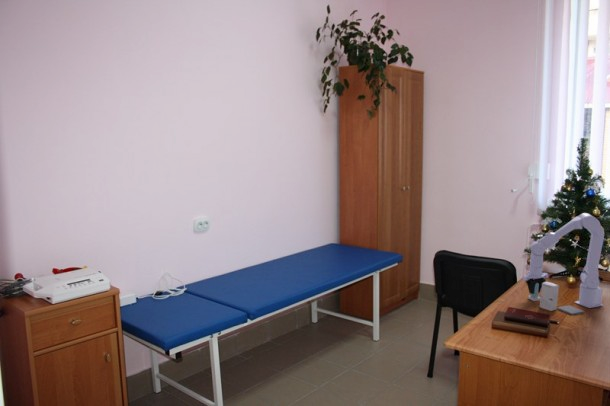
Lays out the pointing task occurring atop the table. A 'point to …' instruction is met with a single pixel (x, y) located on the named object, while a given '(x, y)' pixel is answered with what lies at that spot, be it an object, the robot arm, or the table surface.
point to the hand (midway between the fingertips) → (534, 292)
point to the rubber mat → (570, 310)
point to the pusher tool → (535, 294)
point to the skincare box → (549, 296)
